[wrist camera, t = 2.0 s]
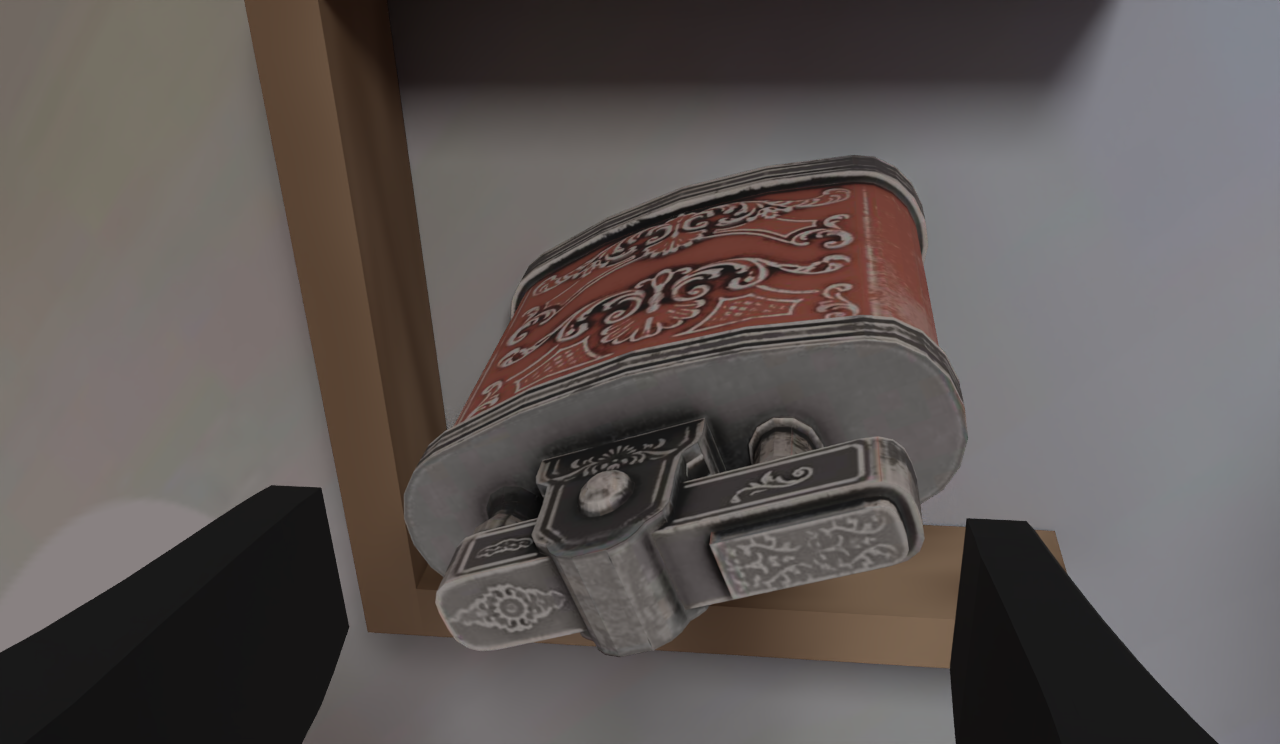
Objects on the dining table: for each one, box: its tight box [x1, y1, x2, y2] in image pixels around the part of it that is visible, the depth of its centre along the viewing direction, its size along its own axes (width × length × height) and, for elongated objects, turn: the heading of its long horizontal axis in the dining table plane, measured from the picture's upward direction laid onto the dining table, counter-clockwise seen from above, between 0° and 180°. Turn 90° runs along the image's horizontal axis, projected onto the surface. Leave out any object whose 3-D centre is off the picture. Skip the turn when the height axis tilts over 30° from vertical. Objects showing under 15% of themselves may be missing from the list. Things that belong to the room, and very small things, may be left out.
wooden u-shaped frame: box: [244, 0, 1067, 668], centre depth 21 cm, size 14×14×3 cm
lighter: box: [404, 155, 968, 657], centre depth 18 cm, size 8×3×10 cm, turn 111°
